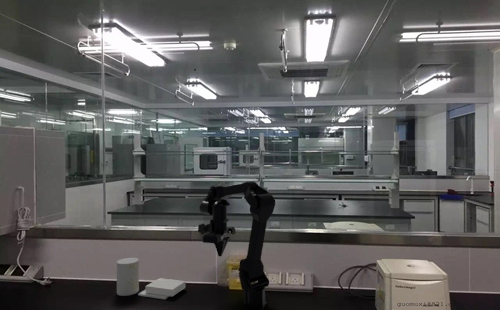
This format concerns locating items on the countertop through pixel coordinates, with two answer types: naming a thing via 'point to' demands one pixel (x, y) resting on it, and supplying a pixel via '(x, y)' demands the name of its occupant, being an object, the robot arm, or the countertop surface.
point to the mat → (152, 295)
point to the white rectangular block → (165, 287)
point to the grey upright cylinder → (127, 276)
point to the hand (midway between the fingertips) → (220, 256)
